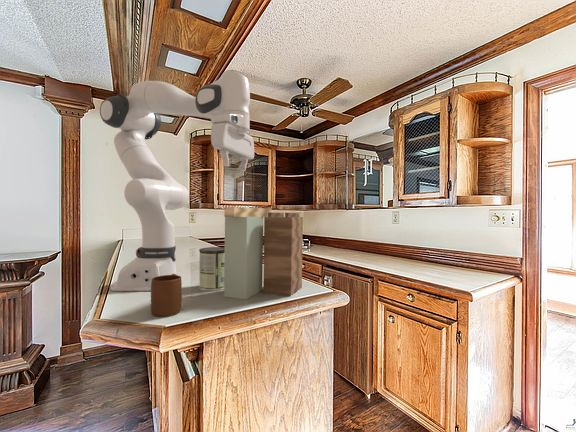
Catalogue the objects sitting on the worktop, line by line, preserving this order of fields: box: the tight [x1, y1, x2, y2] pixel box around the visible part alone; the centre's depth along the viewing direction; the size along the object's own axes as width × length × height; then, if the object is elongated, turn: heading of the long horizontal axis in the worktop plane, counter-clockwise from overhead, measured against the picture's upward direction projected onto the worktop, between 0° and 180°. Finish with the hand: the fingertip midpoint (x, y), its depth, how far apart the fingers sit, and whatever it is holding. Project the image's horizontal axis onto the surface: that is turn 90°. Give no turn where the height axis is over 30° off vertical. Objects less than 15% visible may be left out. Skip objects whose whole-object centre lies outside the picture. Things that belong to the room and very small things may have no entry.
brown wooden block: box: [262, 212, 304, 297], centre depth 100 cm, size 12×10×28 cm
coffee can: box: [198, 246, 225, 292], centre depth 102 cm, size 10×10×14 cm
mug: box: [150, 274, 183, 318], centre depth 78 cm, size 12×8×9 cm, turn 6°
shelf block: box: [223, 217, 264, 300], centre depth 95 cm, size 12×8×26 cm, turn 160°
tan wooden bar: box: [223, 206, 272, 218], centre depth 95 cm, size 20×4×3 cm, turn 149°
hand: (234, 168), depth 88 cm, fingers open, 8 cm apart
